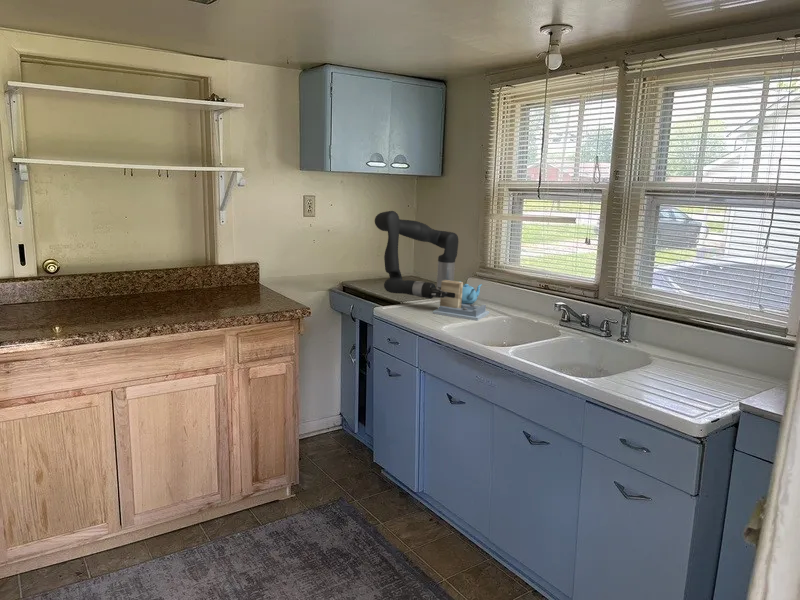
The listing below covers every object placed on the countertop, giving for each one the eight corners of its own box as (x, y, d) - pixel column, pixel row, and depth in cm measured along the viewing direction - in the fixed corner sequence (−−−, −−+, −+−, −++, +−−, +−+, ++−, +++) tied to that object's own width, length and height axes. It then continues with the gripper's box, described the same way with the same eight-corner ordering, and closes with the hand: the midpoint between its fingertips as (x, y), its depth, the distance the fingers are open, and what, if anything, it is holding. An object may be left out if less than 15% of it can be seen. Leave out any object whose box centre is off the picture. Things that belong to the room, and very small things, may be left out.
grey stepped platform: (446, 307, 288) (446, 298, 287) (489, 313, 278) (489, 305, 277) (432, 313, 274) (433, 304, 273) (477, 320, 264) (478, 311, 264)
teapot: (458, 299, 306) (459, 280, 304) (482, 303, 300) (484, 283, 298) (448, 304, 295) (449, 284, 293) (473, 307, 289) (474, 287, 287)
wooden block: (443, 306, 282) (445, 279, 279) (461, 309, 278) (463, 282, 275) (439, 308, 278) (441, 281, 275) (457, 311, 274) (459, 283, 272)
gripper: (417, 284, 276) (451, 289, 268) (430, 279, 288) (463, 284, 281) (416, 299, 278) (450, 305, 270) (429, 294, 290) (461, 299, 283)
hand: (456, 294), depth 276 cm, fingers closed on wooden block, 4 cm apart
